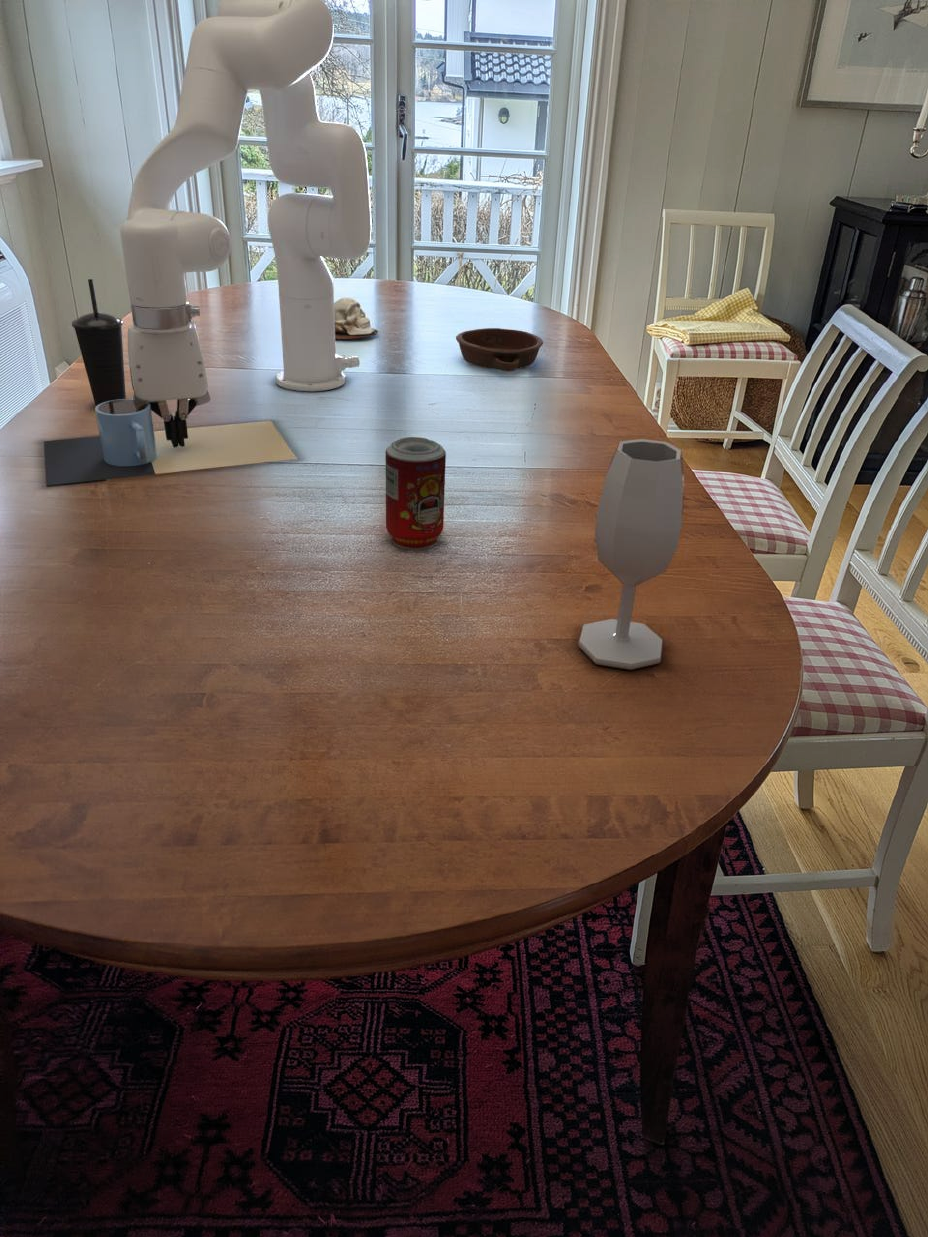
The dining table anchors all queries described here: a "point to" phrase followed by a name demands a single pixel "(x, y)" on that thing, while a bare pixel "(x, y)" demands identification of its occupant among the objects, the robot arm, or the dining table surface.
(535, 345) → the dish
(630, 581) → the wineglass
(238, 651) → the dining table surface
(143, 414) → the mug
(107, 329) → the drinking cup
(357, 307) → the skull
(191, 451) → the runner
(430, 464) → the soda can
